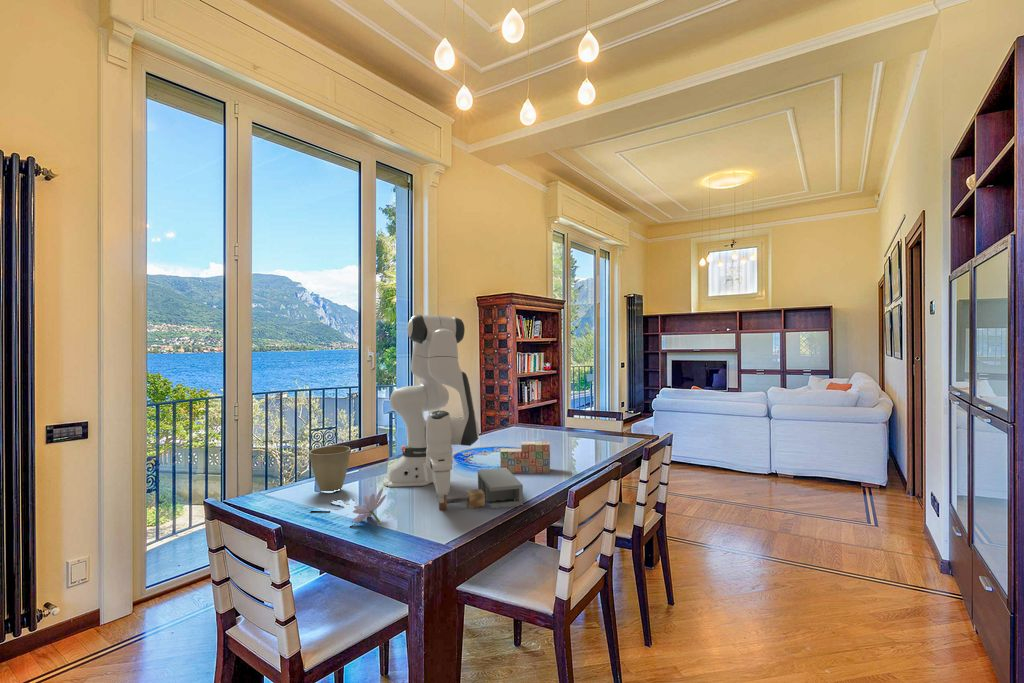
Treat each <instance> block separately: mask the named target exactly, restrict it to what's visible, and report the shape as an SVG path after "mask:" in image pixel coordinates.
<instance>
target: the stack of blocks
mask: <svg viewBox="0 0 1024 683" xmlns="http://www.w3.org/2000/svg"><path fill="white" fill-rule="evenodd" d="M520 443H521V446H520V448H500V454H499V455H500V468H507V469H508V470H509V471H510V472H511V473H512V474H513V473H514V474H515V473H516V474H518V473H519V474H521V473H522V474H524V473H525V474H527V473H529V474H530V473H533V474H534V473H535V474H536V473H537V474H538V473H539V474H540V473H543V474H545V473H546V474H547V473H551V452H550V441H541V440H540V441H539V440H537V441H521V442H520Z"/></svg>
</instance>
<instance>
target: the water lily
mask: <svg viewBox="0 0 1024 683" xmlns="http://www.w3.org/2000/svg"><path fill="white" fill-rule="evenodd" d="M383 491H384V487H382V488H380V489H379V491H378V492H377V494H376V493H372V494H371V495H370V496H369V495H368V494H365V496H364V497H363V503H364V505H360V504H359V505H358V504H357V506H354V508H355V510H354V511H352V512H353V513H352V514H356V517H354V518H352V519H351V521H353V522H352V523H351V524H353V523H357V524H359V523H361V522H362V521H364V520H365V519H366V518H371V516H373V518H374V519H376V521H377V523H378V522H381V520H380V519H379V518H378V517H377V515H376V513H375V510H376V509H378V508H379V507H380V506H381V505H382V503H383V502H384V500H385V499H386V498H387V494H385V495H383ZM382 495H383V496H382ZM357 514H358V515H357ZM358 522H359V523H358Z"/></svg>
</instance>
